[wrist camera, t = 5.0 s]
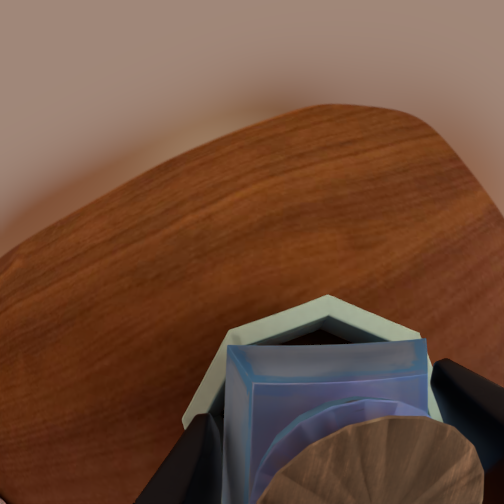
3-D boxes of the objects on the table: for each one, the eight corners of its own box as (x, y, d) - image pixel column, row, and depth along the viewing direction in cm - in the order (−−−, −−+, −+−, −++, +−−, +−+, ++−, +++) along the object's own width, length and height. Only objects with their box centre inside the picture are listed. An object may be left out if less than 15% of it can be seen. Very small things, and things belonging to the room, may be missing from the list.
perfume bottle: (374, 473, 12) (505, 598, 1) (248, 476, 13) (151, 634, 2) (377, 355, 14) (549, 279, 3) (252, 358, 15) (142, 293, 4)
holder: (440, 361, 14) (473, 354, 10) (354, 530, 11) (368, 560, 7) (267, 289, 16) (261, 265, 13) (178, 457, 13) (151, 473, 10)
